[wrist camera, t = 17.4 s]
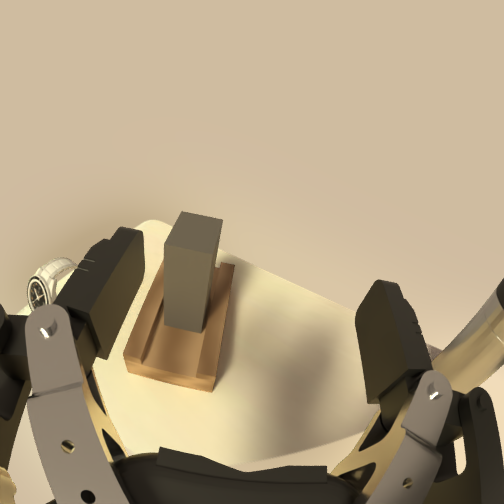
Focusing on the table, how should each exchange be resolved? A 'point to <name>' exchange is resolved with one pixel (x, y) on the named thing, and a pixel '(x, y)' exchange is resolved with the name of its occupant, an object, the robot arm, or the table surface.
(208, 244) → the tall taupe pillar block
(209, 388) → the wooden channel tray
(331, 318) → the table surface
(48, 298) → the watch
